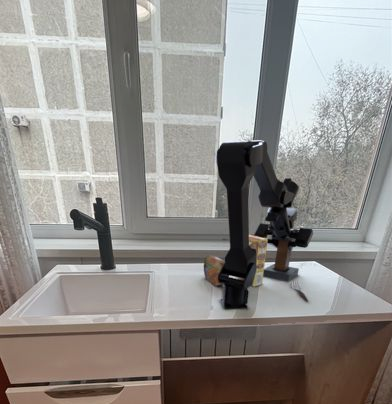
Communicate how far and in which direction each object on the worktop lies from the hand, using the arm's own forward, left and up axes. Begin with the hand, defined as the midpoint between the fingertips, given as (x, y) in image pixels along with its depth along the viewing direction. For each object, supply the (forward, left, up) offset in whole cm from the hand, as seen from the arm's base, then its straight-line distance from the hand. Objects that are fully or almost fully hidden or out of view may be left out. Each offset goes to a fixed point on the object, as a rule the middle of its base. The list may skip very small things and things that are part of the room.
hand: (285, 249), depth 104 cm
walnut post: (-1, -1, -7) cm, 7 cm away
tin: (-27, -7, -10) cm, 29 cm away
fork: (-1, -19, -10) cm, 22 cm away
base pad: (-1, -1, -9) cm, 10 cm away
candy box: (-15, -8, -10) cm, 19 cm away
